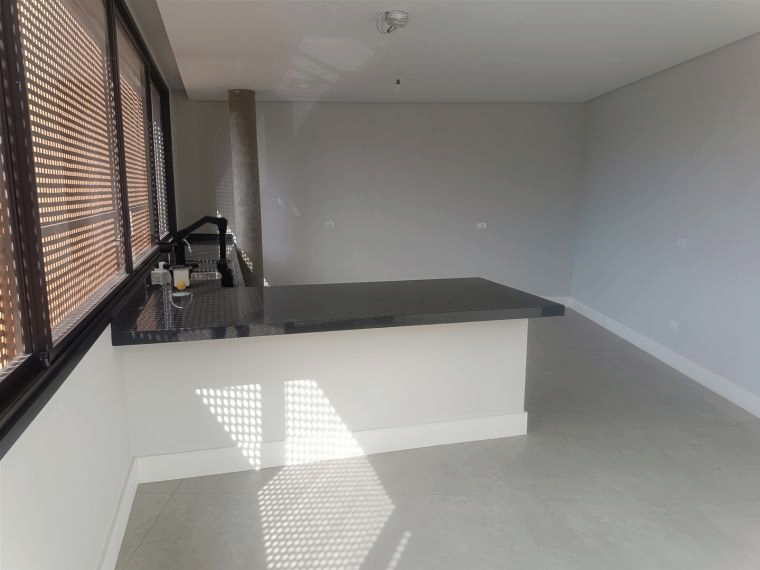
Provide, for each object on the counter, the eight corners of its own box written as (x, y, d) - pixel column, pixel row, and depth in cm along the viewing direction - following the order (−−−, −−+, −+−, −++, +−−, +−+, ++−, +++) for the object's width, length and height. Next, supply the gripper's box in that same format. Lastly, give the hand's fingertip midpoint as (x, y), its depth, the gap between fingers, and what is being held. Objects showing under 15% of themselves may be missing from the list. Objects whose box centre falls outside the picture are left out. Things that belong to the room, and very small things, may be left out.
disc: (190, 291, 287) (190, 291, 287) (190, 295, 278) (190, 295, 278) (171, 293, 284) (171, 292, 284) (170, 296, 275) (170, 296, 275)
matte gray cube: (189, 283, 305) (188, 268, 303) (189, 285, 298) (188, 270, 296) (175, 284, 303) (174, 269, 301) (174, 286, 295) (173, 271, 294)
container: (151, 284, 309) (149, 262, 307) (160, 282, 317) (159, 260, 314) (162, 285, 307) (161, 263, 305) (171, 282, 314) (169, 261, 312)
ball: (186, 289, 295) (185, 280, 294) (186, 290, 291) (185, 281, 290) (176, 289, 294) (176, 280, 293) (176, 291, 289) (176, 282, 288)
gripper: (197, 251, 307) (199, 277, 310) (163, 252, 302) (165, 279, 305) (197, 253, 297) (199, 280, 300) (161, 254, 291) (163, 282, 294)
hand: (181, 280), depth 300 cm, fingers closed on matte gray cube, 8 cm apart
